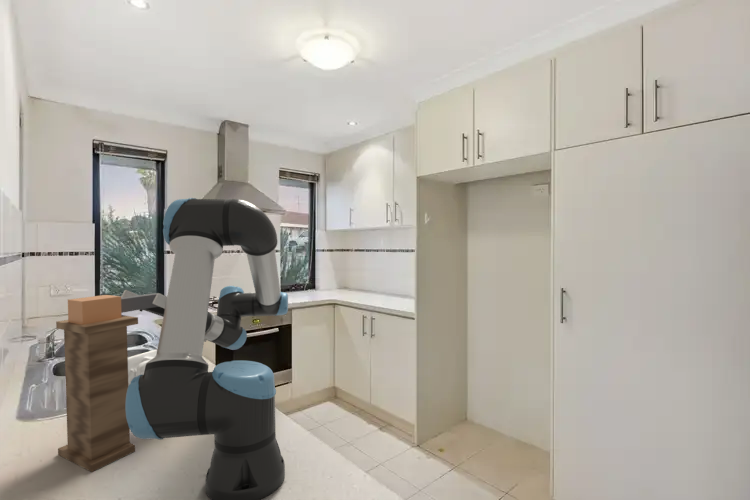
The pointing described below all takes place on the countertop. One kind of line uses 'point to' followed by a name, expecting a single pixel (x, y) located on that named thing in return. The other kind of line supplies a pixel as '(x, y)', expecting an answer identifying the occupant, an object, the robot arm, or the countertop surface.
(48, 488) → the countertop surface
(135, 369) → the cable organizer
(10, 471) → the countertop surface
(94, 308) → the plug
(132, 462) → the countertop surface
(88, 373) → the wooden pedestal
